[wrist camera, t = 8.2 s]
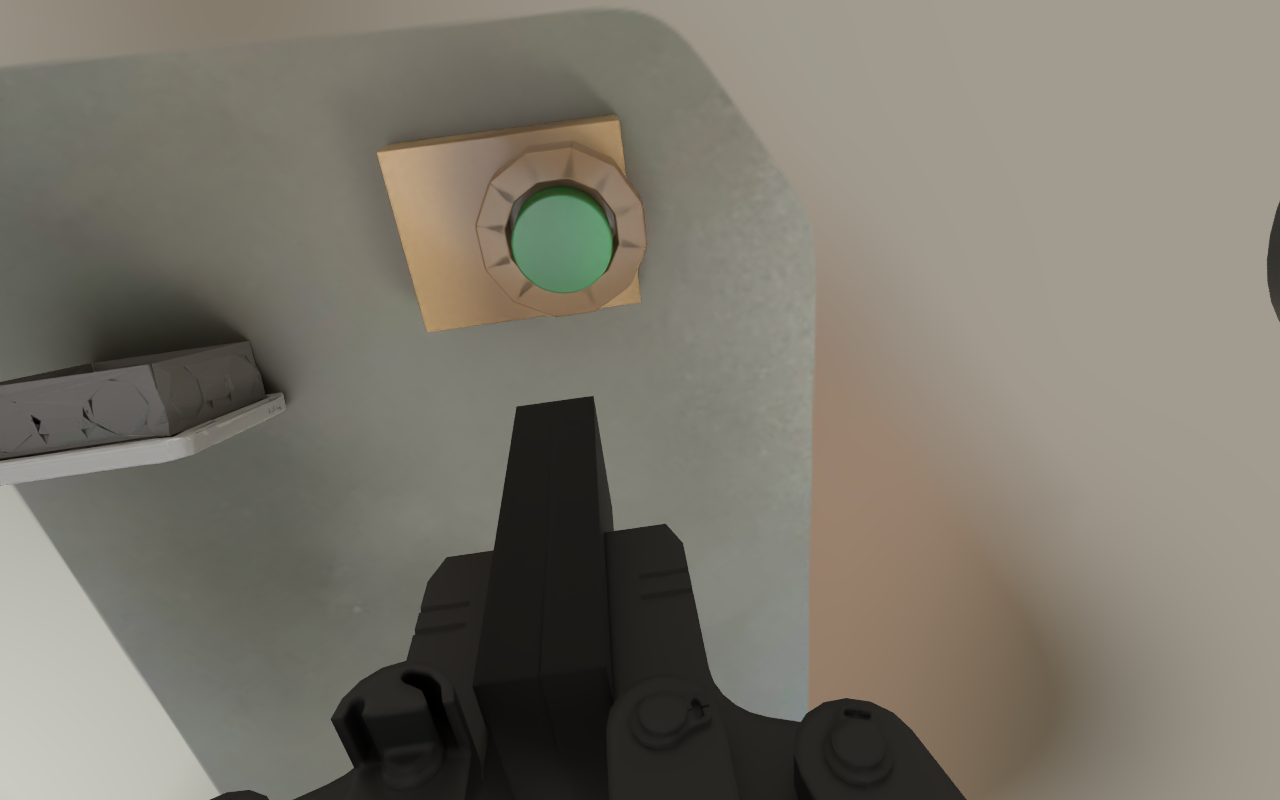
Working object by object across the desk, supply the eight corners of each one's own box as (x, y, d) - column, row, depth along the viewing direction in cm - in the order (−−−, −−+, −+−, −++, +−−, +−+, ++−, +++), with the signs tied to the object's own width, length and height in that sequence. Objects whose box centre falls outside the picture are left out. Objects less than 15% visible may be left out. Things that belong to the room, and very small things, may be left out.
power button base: (626, 112, 31) (634, 123, 27) (646, 286, 34) (655, 315, 31) (387, 144, 30) (364, 159, 27) (434, 315, 34) (419, 348, 31)
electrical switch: (110, 432, 36) (-39, 533, 27) (65, 335, 34) (-111, 411, 25) (295, 405, 36) (206, 497, 27) (261, 307, 34) (154, 373, 25)
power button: (603, 179, 28) (605, 187, 27) (616, 273, 30) (619, 287, 29) (505, 192, 28) (501, 201, 27) (524, 286, 30) (521, 300, 29)
